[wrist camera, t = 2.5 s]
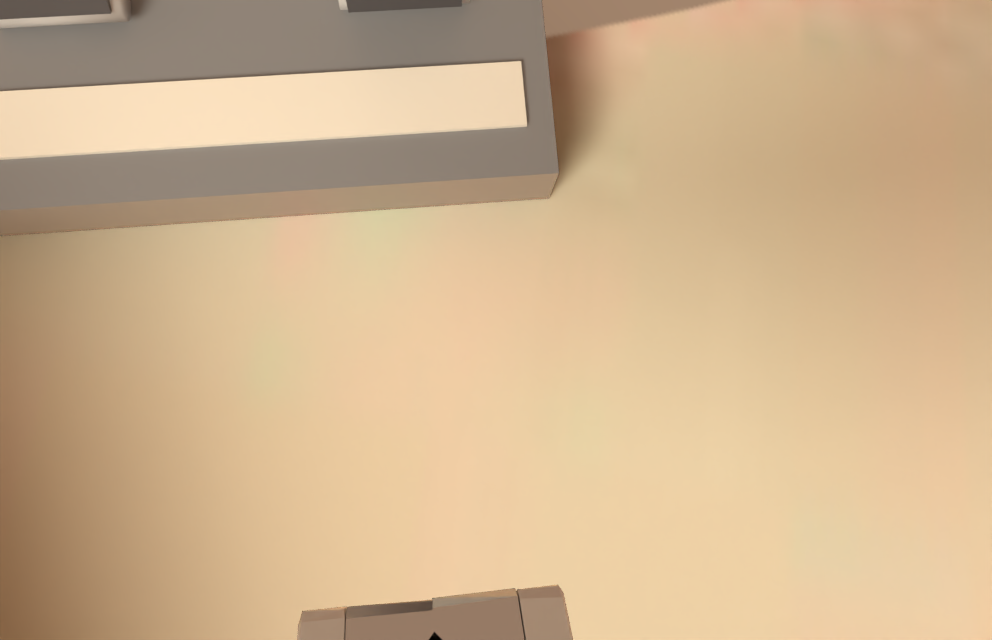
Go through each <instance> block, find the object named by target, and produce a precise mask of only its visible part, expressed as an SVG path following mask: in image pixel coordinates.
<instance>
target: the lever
mask: <svg viewBox="0 0 992 640" xmlns="http://www.w3.org/2000/svg"><path fill="white" fill-rule="evenodd" d="M130 19H131V2H130V0H0V28H17V27H36V26H54V25H73V24H91V23H110V22H128V21H130Z"/></svg>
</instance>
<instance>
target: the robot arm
mask: <svg viewBox="0 0 992 640" xmlns="http://www.w3.org/2000/svg"><path fill="white" fill-rule="evenodd" d="M297 640H573V636H572V632H571V627H570V622H569V617H568V613H567V608H566V603H565V598H564V593H563V592H562V590H561V588H560V587H559V585H550V586H542V587H534V588H525V589H517V591H516V590H515V588H513V589H505V590H496V591H488V592H479V593H471V594H463V595H454V596H446V597H437V598H432V600H423V601H411V602H399V603H387V604H375V605H363V606H351V607H337V608H327V609H317V610H307V611H302V614H301V617H300V621H299V625H298V636H297Z"/></svg>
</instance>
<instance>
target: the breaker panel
mask: <svg viewBox="0 0 992 640" xmlns="http://www.w3.org/2000/svg"><path fill="white" fill-rule="evenodd" d="M130 2H131V19H130V21H128V22H110V23H91V24H73V25H54V26H36V27H17V28H0V236H6V235H20V234H35V233H50V232H64V231H79V230H94V229H108V228H123V227H137V226H152V225H167V224H181V223H196V222H210V221H225V220H240V219H254V218H269V217H283V216H298V215H313V214H327V213H342V212H357V211H371V210H386V209H400V208H415V207H430V206H444V205H459V204H473V203H488V202H503V201H517V200H532V199H546V198H549V197H550V195H551V192H552V190H553V187H554V185H555V182H556V180H557V177H558V175H559V167H558V157H557V147H556V137H555V127H554V117H553V107H552V97H551V87H550V77H549V67H548V57H547V47H546V37H545V26H544V16H543V7H542V0H470V3H463V4H462V7H444V8H425V9H407V10H388V11H370V12H351V13H349V12H348V10H340V7H339V1H338V0H130Z"/></svg>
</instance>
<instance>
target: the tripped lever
mask: <svg viewBox="0 0 992 640" xmlns="http://www.w3.org/2000/svg"><path fill="white" fill-rule="evenodd" d="M338 1H339V7H340V10H348V12H349V13H351V12H370V11H388V10H407V9H425V8H444V7H462V4H463V3H470V0H338Z"/></svg>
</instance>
